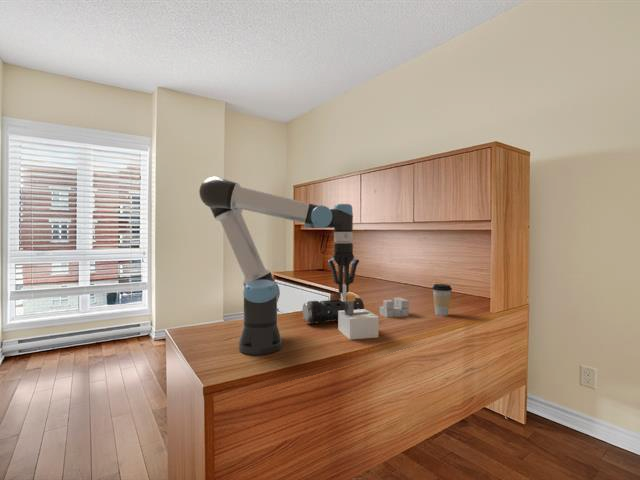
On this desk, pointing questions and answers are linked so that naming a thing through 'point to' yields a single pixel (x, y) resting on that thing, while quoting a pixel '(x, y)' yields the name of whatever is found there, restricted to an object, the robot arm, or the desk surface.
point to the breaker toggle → (349, 303)
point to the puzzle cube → (395, 308)
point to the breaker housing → (358, 324)
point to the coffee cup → (441, 298)
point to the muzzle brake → (326, 310)
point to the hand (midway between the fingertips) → (343, 300)
